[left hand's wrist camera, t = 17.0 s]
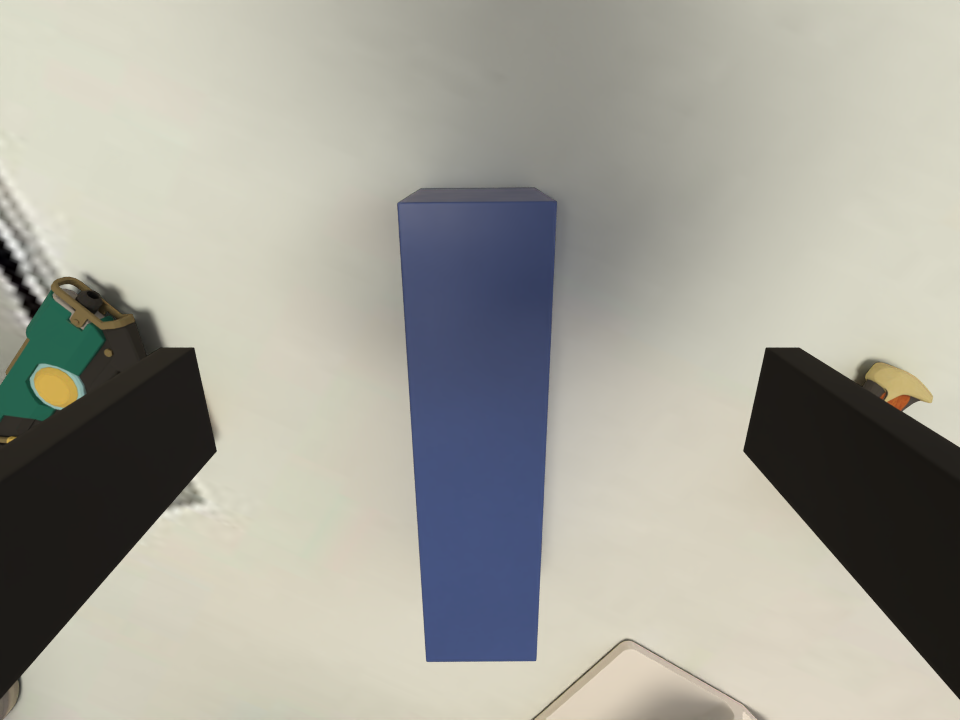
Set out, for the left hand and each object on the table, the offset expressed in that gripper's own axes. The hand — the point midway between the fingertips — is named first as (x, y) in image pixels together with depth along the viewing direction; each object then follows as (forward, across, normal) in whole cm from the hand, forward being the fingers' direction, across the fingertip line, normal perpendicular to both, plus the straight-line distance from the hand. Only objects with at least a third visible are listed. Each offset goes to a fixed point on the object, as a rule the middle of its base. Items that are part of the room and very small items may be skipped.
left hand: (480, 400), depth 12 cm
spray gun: (+22, -27, -12) cm, 37 cm away
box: (+22, 0, -11) cm, 25 cm away
